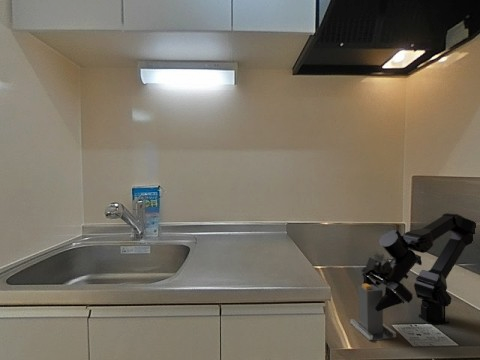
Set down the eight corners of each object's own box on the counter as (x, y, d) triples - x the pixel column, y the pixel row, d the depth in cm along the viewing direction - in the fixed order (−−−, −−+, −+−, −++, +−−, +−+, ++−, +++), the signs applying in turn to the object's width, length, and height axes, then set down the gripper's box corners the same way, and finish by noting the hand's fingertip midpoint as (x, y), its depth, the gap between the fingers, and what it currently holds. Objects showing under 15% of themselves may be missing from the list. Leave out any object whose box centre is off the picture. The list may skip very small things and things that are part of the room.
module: (373, 325, 102) (372, 281, 102) (382, 332, 98) (382, 286, 97) (358, 326, 102) (358, 282, 101) (367, 334, 97) (367, 288, 96)
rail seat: (374, 321, 106) (374, 316, 106) (396, 337, 95) (396, 332, 95) (350, 323, 104) (350, 319, 104) (369, 340, 94) (369, 335, 94)
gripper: (366, 242, 109) (336, 277, 107) (402, 256, 91) (367, 298, 89) (387, 264, 111) (358, 298, 109) (427, 282, 92) (393, 324, 91)
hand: (367, 304), depth 99 cm, fingers open, 9 cm apart
